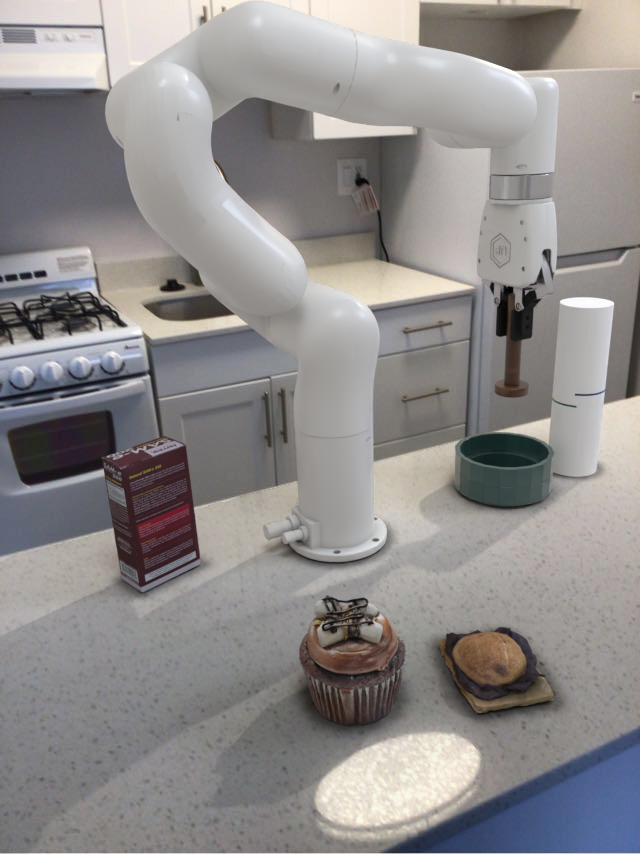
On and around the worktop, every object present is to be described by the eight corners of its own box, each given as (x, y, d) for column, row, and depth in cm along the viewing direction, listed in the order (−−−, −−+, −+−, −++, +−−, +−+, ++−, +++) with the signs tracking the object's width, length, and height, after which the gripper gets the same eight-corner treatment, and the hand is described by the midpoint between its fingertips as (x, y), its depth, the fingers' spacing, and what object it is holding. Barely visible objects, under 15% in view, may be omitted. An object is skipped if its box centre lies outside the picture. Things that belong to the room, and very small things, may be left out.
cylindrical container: (599, 478, 110) (618, 308, 101) (548, 475, 111) (562, 307, 102) (593, 458, 116) (610, 297, 107) (545, 456, 118) (557, 297, 109)
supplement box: (179, 551, 95) (165, 433, 89) (202, 565, 91) (189, 443, 86) (118, 579, 89) (99, 455, 83) (140, 595, 86) (122, 467, 80)
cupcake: (421, 722, 66) (422, 626, 62) (312, 742, 64) (307, 645, 60) (389, 653, 75) (388, 566, 71) (292, 670, 73) (287, 581, 69)
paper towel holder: (509, 400, 98) (514, 299, 94) (487, 391, 102) (491, 294, 97) (535, 393, 100) (541, 294, 95) (513, 385, 104) (517, 289, 99)
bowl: (496, 518, 100) (498, 477, 98) (435, 482, 111) (436, 444, 109) (571, 494, 105) (574, 455, 103) (506, 461, 117) (508, 425, 114)
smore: (560, 704, 67) (564, 670, 66) (470, 717, 66) (471, 683, 65) (512, 631, 77) (514, 601, 76) (433, 642, 76) (433, 611, 75)
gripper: (455, 189, 97) (453, 329, 103) (543, 195, 83) (534, 355, 90) (501, 184, 100) (496, 321, 107) (593, 189, 87) (580, 345, 93)
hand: (513, 336), depth 98 cm, fingers closed on paper towel holder, 2 cm apart
